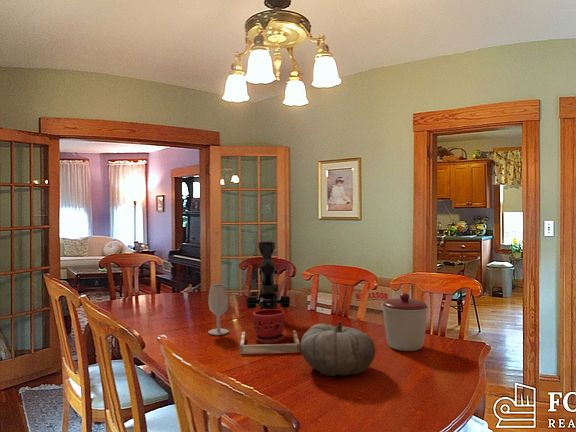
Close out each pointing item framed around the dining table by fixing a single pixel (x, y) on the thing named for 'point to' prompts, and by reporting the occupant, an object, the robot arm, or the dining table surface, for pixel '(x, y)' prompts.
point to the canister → (405, 322)
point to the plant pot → (269, 325)
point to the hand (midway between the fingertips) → (268, 318)
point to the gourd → (337, 349)
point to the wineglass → (218, 305)
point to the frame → (270, 347)
